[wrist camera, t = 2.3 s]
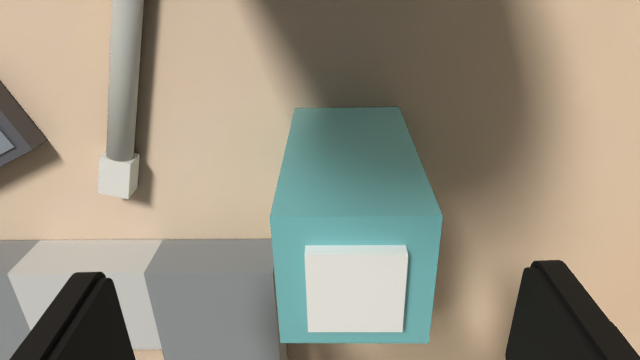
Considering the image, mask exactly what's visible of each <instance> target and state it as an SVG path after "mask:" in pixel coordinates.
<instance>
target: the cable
mask: <svg viewBox="0 0 640 360" xmlns="http://www.w3.org/2000/svg"><path fill="white" fill-rule="evenodd" d="M143 6H144V0H112V9H111V36H110V64H109V92H108V120H107V148H106V152H105V153H103V154H102V155H101V156H100V157H99V181H98V193H102V194H106V195H111V196H116V197H120V198H125V199H129V198H130V196H131V195H132V194H133V193H134V191H135V190H136V189H137V188H138V174H139V161H140V154H138V153H134V144H135V128H136V113H137V98H138V83H139V67H140V52H141V37H142V22H143Z"/></svg>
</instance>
